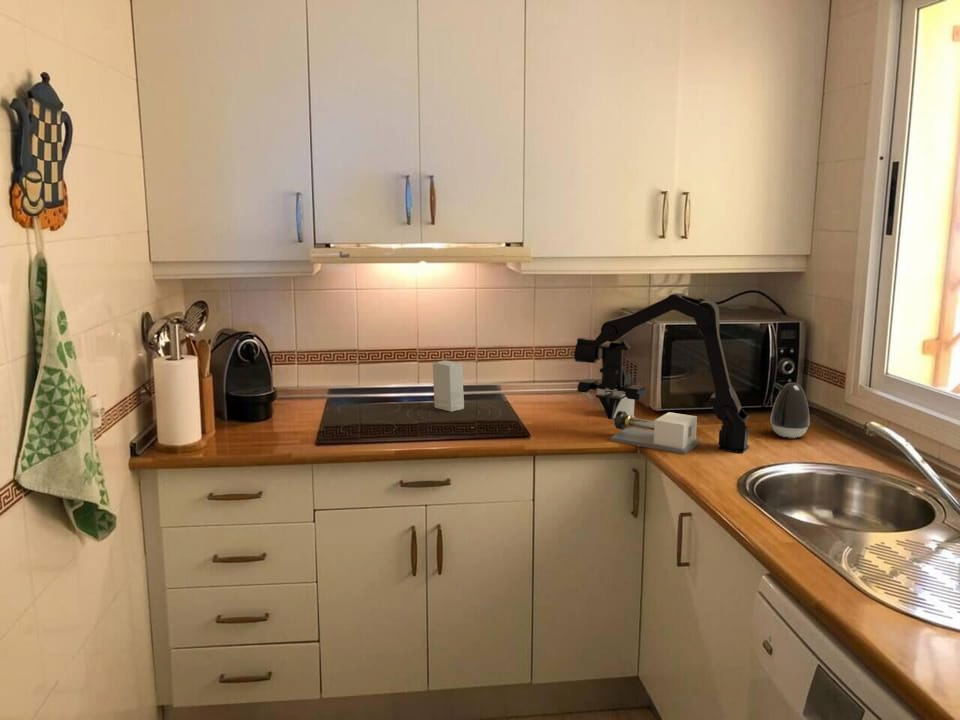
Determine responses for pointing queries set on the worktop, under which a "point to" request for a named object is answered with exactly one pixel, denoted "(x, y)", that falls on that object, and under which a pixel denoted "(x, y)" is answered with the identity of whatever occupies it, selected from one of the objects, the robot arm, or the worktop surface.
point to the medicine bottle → (626, 403)
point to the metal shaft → (632, 421)
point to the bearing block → (664, 434)
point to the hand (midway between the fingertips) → (610, 419)
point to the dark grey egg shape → (790, 411)
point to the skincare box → (448, 385)
